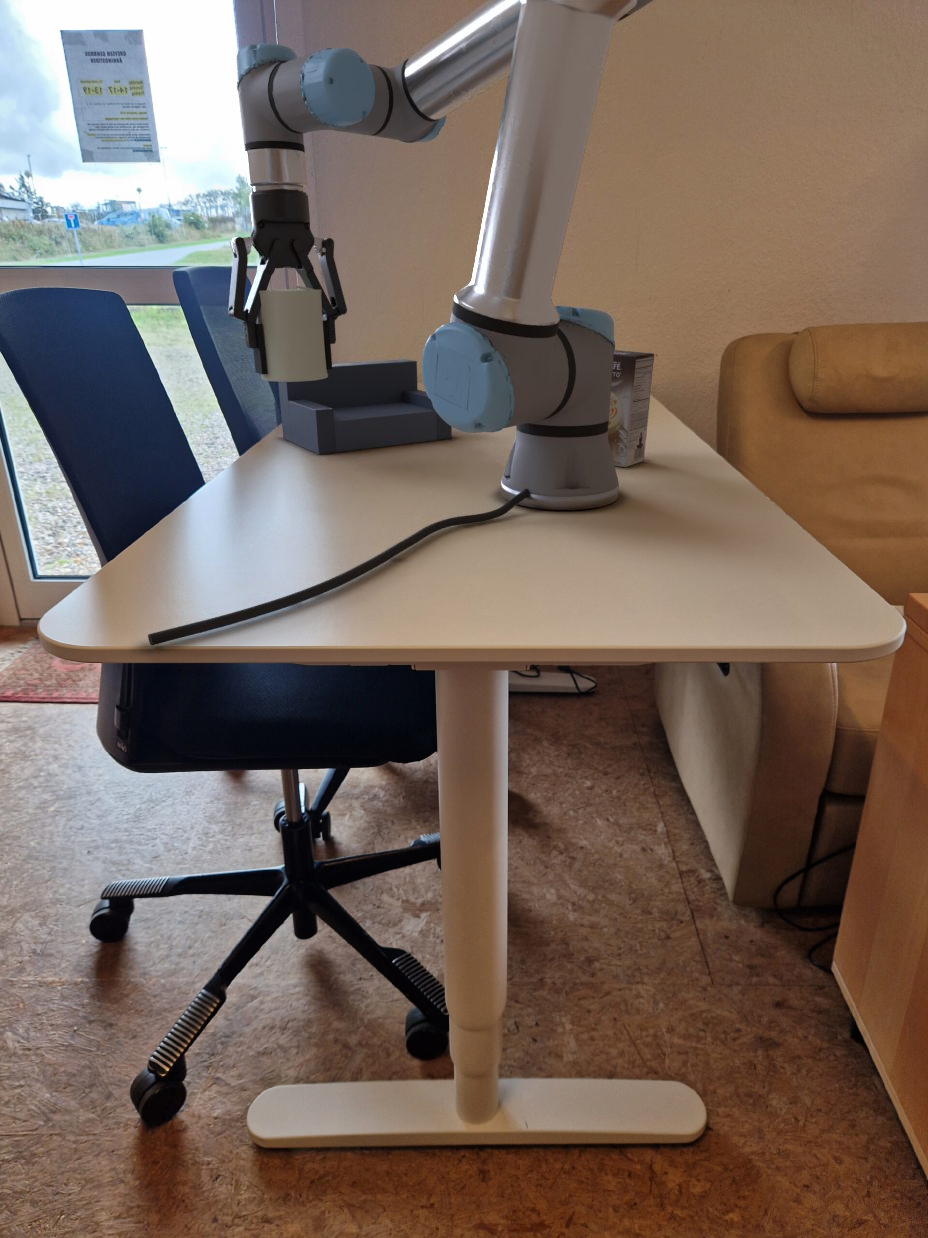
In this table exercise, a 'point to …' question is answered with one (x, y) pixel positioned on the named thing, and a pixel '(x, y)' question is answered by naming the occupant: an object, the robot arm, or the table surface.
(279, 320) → the can
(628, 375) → the coffee box
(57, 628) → the table surface
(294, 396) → the couch
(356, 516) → the table surface
